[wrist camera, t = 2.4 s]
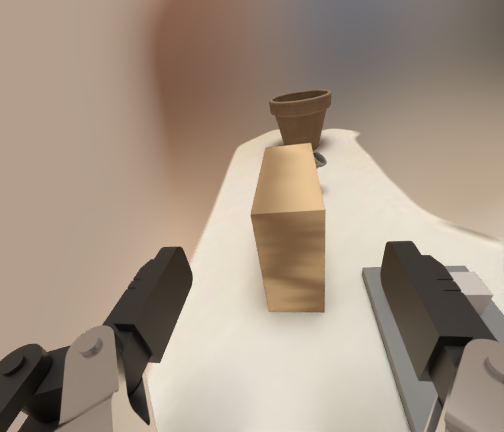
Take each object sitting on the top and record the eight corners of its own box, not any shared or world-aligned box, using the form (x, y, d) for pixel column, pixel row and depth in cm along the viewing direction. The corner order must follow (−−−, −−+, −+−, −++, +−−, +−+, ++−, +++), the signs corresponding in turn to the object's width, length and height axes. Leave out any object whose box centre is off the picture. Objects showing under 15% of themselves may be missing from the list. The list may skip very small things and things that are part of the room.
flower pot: (288, 137, 59) (285, 90, 53) (337, 138, 53) (339, 86, 47) (264, 155, 51) (257, 103, 46) (318, 160, 45) (317, 100, 40)
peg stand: (461, 272, 21) (472, 247, 20) (696, 585, 9) (774, 585, 7) (362, 273, 23) (364, 250, 21) (446, 543, 10) (468, 536, 9)
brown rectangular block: (312, 224, 30) (310, 142, 24) (324, 312, 20) (325, 209, 15) (275, 226, 31) (265, 147, 25) (269, 312, 21) (250, 214, 16)
